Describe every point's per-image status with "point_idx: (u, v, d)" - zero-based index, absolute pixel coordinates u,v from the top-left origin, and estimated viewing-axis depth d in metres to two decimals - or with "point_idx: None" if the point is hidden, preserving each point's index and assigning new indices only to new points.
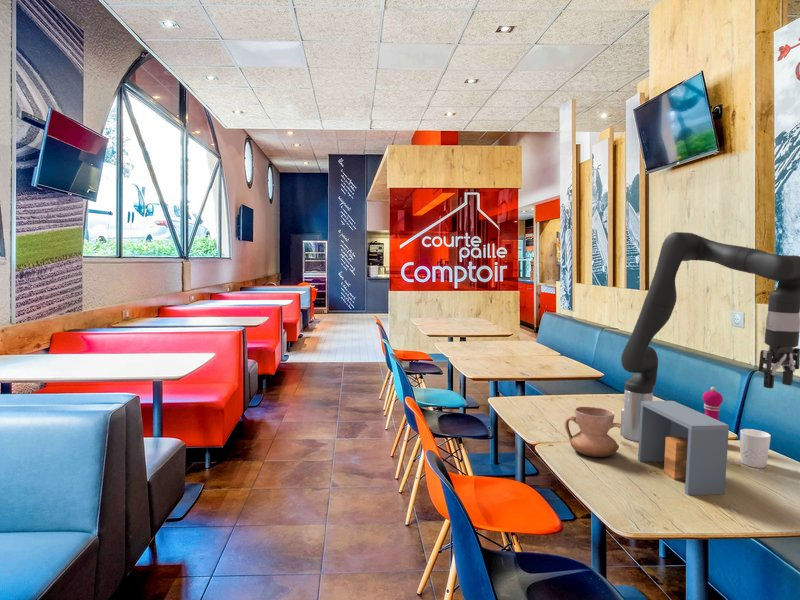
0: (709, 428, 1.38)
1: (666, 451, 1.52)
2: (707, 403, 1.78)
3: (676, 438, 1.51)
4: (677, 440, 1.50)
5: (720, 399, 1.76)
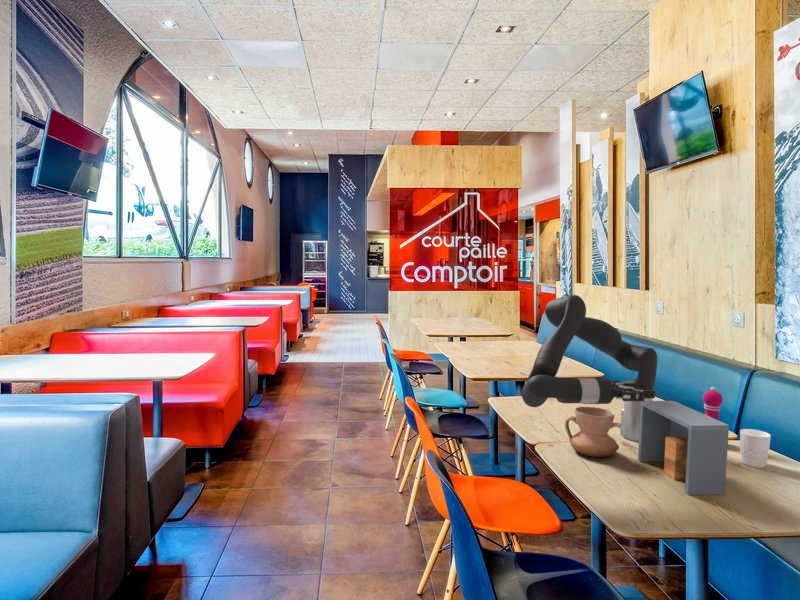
0: (709, 428, 1.38)
1: (666, 451, 1.52)
2: (707, 403, 1.78)
3: (676, 438, 1.51)
4: (677, 440, 1.50)
5: (720, 399, 1.76)
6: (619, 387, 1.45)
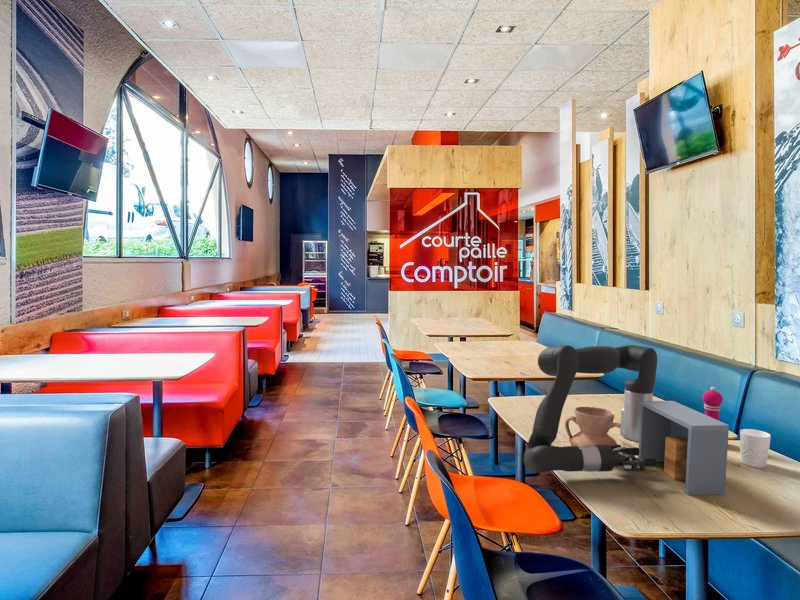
0: (709, 428, 1.38)
1: (666, 451, 1.52)
2: (707, 403, 1.78)
3: (676, 438, 1.51)
4: (677, 440, 1.50)
5: (720, 399, 1.76)
6: (620, 455, 1.47)
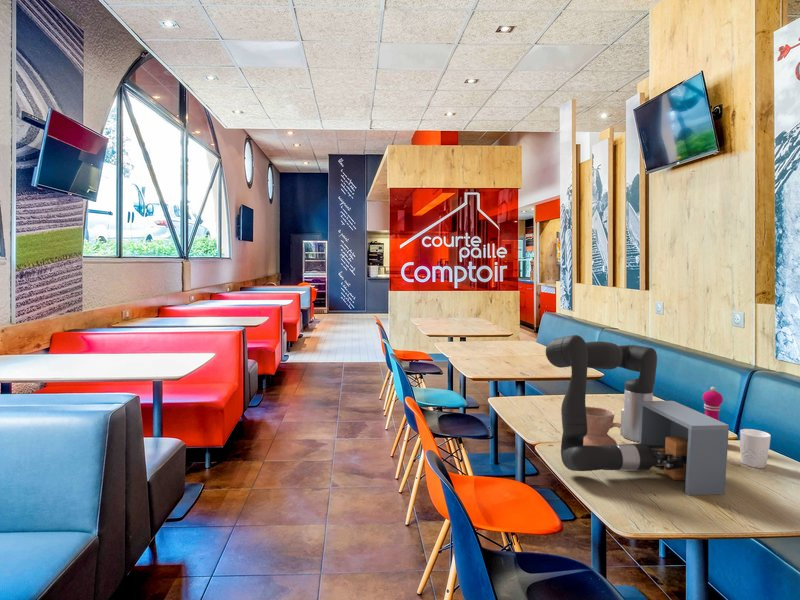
0: (709, 428, 1.38)
1: (666, 451, 1.52)
2: (707, 403, 1.78)
3: (676, 438, 1.51)
4: (677, 440, 1.50)
5: (720, 399, 1.76)
6: (659, 454, 1.48)
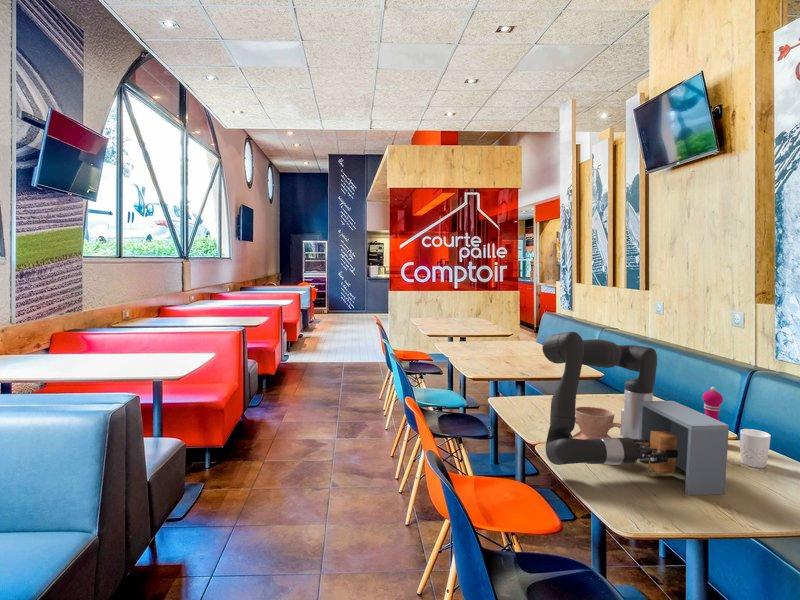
0: (709, 428, 1.38)
1: (651, 445, 1.52)
2: (707, 403, 1.78)
3: (661, 432, 1.51)
4: (661, 434, 1.49)
5: (720, 399, 1.76)
6: (643, 448, 1.48)
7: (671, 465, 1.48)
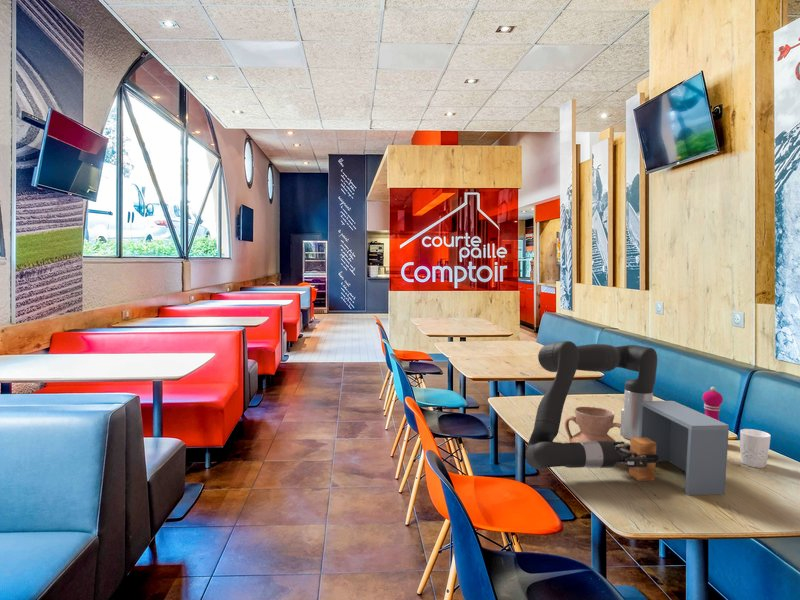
0: (709, 428, 1.38)
1: None
2: (707, 403, 1.78)
3: (641, 439, 1.51)
4: (641, 440, 1.49)
5: (720, 399, 1.76)
6: (622, 451, 1.47)
7: (651, 472, 1.48)
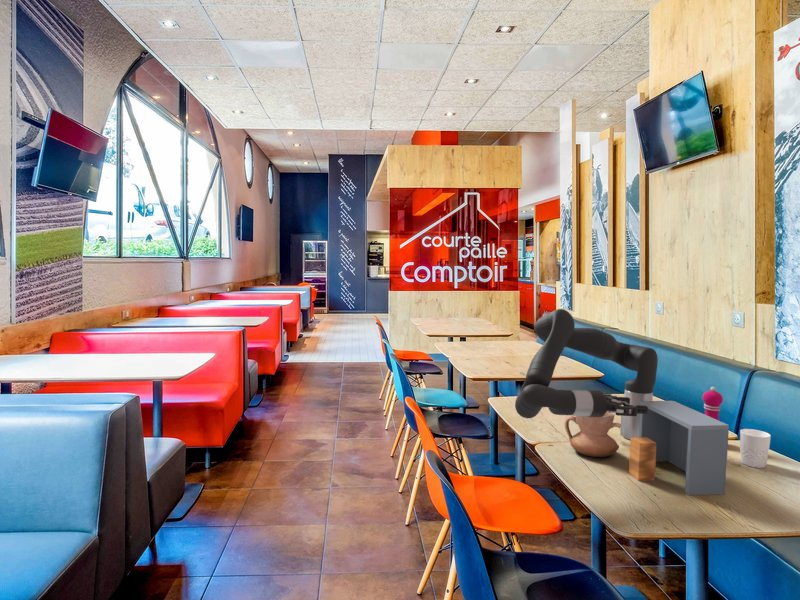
0: (709, 428, 1.38)
1: (631, 452, 1.51)
2: (707, 403, 1.78)
3: (641, 439, 1.51)
4: (641, 440, 1.49)
5: (720, 399, 1.76)
6: (612, 401, 1.45)
7: (651, 472, 1.48)
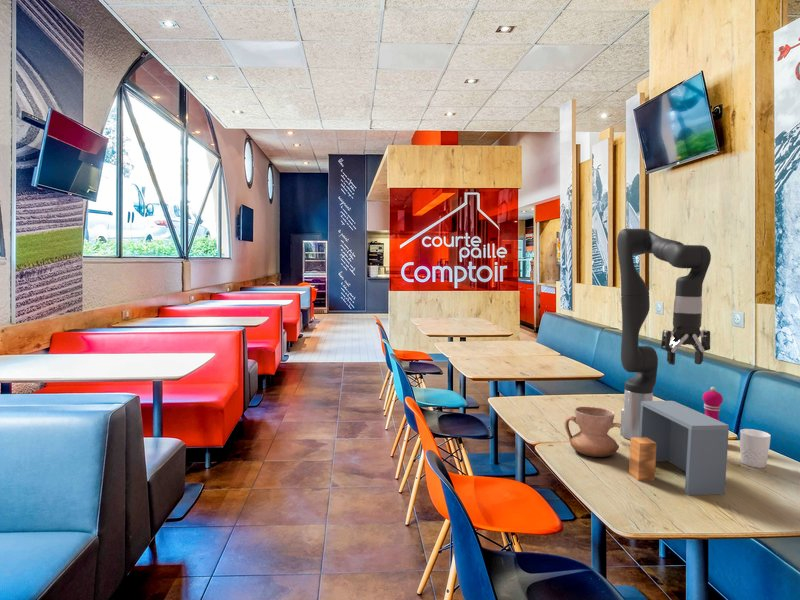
0: (709, 428, 1.38)
1: (631, 452, 1.51)
2: (707, 403, 1.78)
3: (641, 439, 1.51)
4: (641, 440, 1.49)
5: (720, 399, 1.76)
6: None
7: (651, 472, 1.48)
